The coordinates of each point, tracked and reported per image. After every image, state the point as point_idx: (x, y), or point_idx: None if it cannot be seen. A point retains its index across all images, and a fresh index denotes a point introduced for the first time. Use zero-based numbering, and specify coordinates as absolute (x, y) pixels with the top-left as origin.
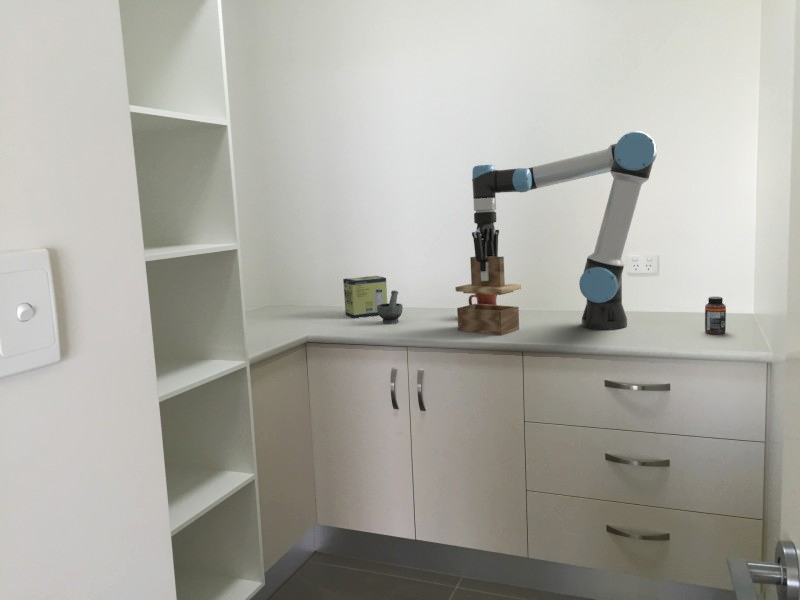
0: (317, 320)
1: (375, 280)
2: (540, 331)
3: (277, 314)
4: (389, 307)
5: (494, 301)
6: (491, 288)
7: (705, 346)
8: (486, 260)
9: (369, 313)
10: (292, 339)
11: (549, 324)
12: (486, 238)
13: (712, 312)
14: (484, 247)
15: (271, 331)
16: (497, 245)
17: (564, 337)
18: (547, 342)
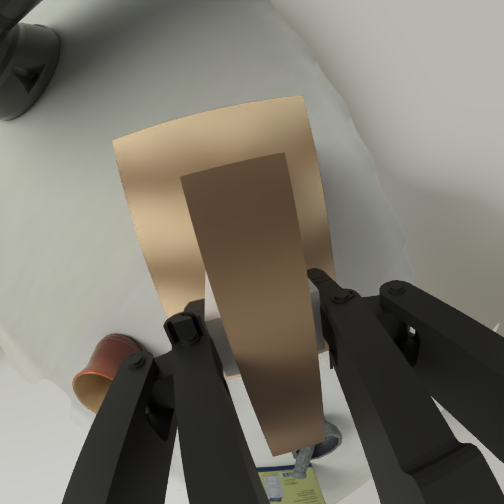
0: (347, 464)
1: None
2: (146, 99)
3: (337, 493)
4: (335, 433)
5: (98, 358)
6: (313, 158)
7: None
8: (326, 299)
9: (287, 469)
10: None
11: (62, 163)
12: (492, 475)
13: None
14: (417, 387)
15: None
16: (86, 457)
17: (175, 15)
18: (248, 7)
